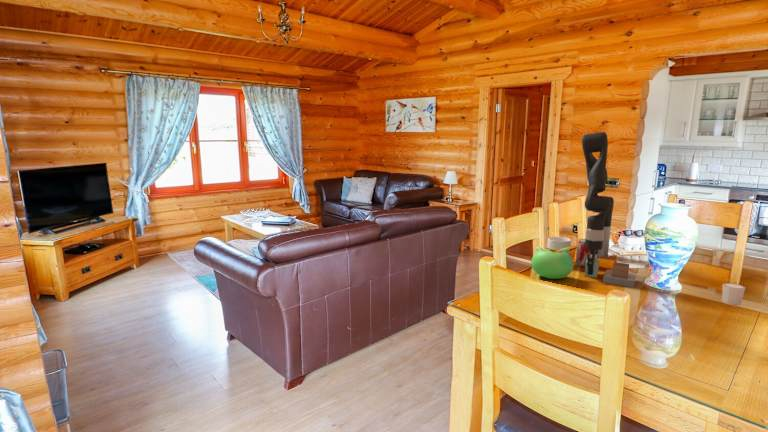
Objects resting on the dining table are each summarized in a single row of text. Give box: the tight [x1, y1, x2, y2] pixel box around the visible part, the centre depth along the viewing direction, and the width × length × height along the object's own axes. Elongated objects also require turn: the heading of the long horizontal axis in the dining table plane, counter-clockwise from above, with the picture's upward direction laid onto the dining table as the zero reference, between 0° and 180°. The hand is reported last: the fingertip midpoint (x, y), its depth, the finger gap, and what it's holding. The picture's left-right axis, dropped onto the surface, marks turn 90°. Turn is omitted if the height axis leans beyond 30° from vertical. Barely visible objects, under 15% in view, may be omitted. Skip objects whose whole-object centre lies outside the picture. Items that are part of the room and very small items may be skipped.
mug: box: [546, 236, 572, 255], centre depth 218 cm, size 15×11×13 cm
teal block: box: [584, 259, 600, 278], centre depth 197 cm, size 5×5×7 cm
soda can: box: [575, 238, 590, 268], centre depth 213 cm, size 7×7×13 cm
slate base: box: [602, 269, 637, 289], centre depth 188 cm, size 12×12×3 cm
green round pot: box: [530, 246, 574, 280], centre depth 193 cm, size 18×17×15 cm
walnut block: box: [611, 261, 630, 278], centre depth 188 cm, size 6×6×5 cm
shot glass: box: [721, 282, 746, 306], centre depth 163 cm, size 7×7×7 cm
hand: (591, 272), depth 197 cm, fingers open, 7 cm apart
